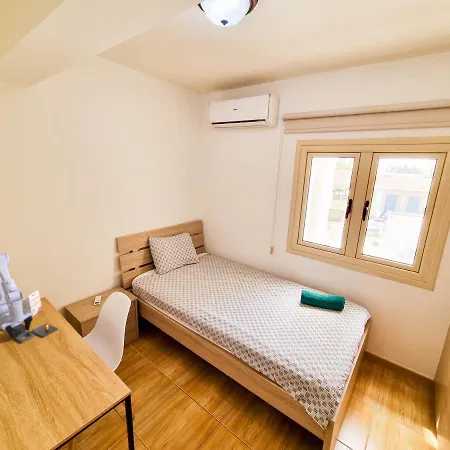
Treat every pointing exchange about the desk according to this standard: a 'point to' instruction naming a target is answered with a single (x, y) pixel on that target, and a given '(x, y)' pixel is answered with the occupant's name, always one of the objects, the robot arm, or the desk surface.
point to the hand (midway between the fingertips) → (20, 333)
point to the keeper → (44, 330)
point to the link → (22, 333)
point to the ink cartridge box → (32, 303)
